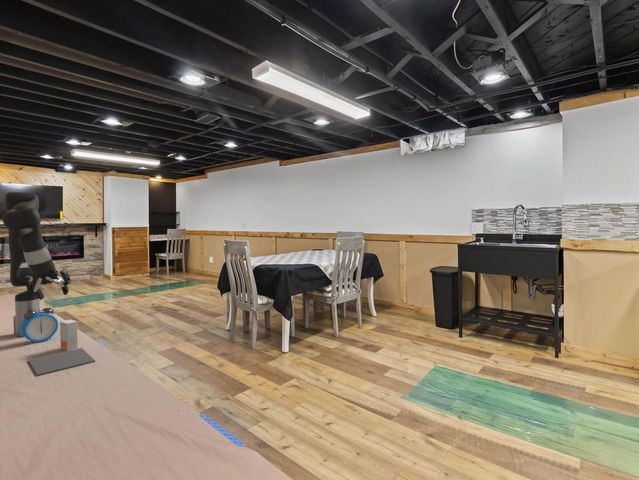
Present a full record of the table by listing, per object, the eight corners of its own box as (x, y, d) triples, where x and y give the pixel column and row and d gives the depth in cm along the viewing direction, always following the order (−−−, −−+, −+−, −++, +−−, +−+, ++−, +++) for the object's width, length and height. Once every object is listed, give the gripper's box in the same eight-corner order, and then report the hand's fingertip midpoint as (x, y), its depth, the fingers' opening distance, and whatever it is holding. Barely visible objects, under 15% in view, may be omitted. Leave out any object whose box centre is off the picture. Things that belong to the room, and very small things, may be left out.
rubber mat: (28, 360, 138) (28, 359, 138) (81, 349, 151) (81, 347, 151) (37, 376, 125) (37, 374, 125) (95, 361, 138) (95, 360, 138)
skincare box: (60, 348, 152) (59, 321, 152) (70, 345, 156) (70, 319, 155) (67, 350, 149) (66, 323, 149) (78, 347, 153) (77, 321, 153)
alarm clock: (23, 346, 155) (22, 312, 154) (20, 343, 158) (19, 310, 158) (59, 338, 165) (58, 307, 164) (54, 335, 169) (53, 305, 168)
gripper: (63, 252, 138) (77, 288, 144) (22, 259, 135) (38, 295, 141) (56, 260, 131) (70, 297, 137) (12, 267, 128) (29, 304, 134)
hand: (54, 296), depth 139 cm, fingers open, 8 cm apart
